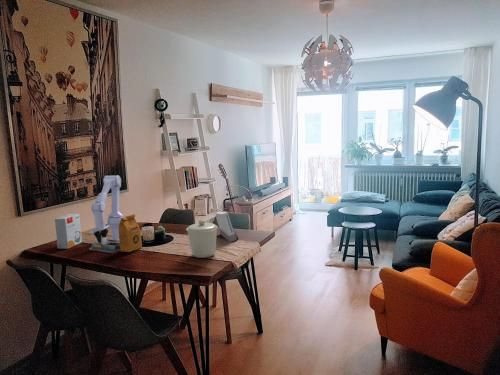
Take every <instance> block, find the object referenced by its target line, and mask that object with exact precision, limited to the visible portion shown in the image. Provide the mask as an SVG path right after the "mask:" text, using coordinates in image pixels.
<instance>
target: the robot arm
mask: <svg viewBox="0 0 500 375" xmlns="http://www.w3.org/2000/svg"><path fill="white" fill-rule="evenodd" d="M102 183H103V187H102V190H101V192H100V193H98V195H97V196H96V199H95V202H93V203H92V204H91V207H90V208H91V212H92V214H93V217H94V226H95V227H94V228H93V229H91V230H90V231H89V232H90V233H89V234H92V235H94V237H95V238H97V241H98V243H101V237H106V238H107V236H108V232H109V229H110V233H111V238H109V240H110V241H115V242H117V241H119V224H120V220H121V218H123V217H124V214H123V213H121V212H120V188H121V187H122V178H121V176H120V175H119V174H118V175H104V177H103V182H102ZM110 190H111V212H110V213H109V214H108V215H107V216H108V217H107V221H106V222H107V223H105V212H104V211H105V209H106V201H107V199H108V193H109V192H110ZM106 224H107V225H106ZM109 240H108V241H109Z"/></svg>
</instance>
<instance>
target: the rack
mask: <svg viewBox="0 0 500 375" xmlns="http://www.w3.org/2000/svg"><path fill="white" fill-rule="evenodd" d="M107 242H108V243H106V244H98V243H96V241H95V242H92V243H91V247H90V248H89V249H88V250H89V251H94V252H102V253H108V254H114V253H116V252H120V243H119V242H117V241H111V240H110V241H109V240H107Z"/></svg>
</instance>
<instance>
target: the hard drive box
mask: <svg viewBox="0 0 500 375" xmlns="http://www.w3.org/2000/svg"><path fill="white" fill-rule="evenodd" d="M80 217H81V216H80V213H68V214H66V215H65V214H64V215H62V216H59V217H57V218H54V224H55V234H56V242H57V249H64V250H65V249H70V248H73V247H74V246H76V245H79V244H81V243H83V235H82V228H81V218H80Z"/></svg>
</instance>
